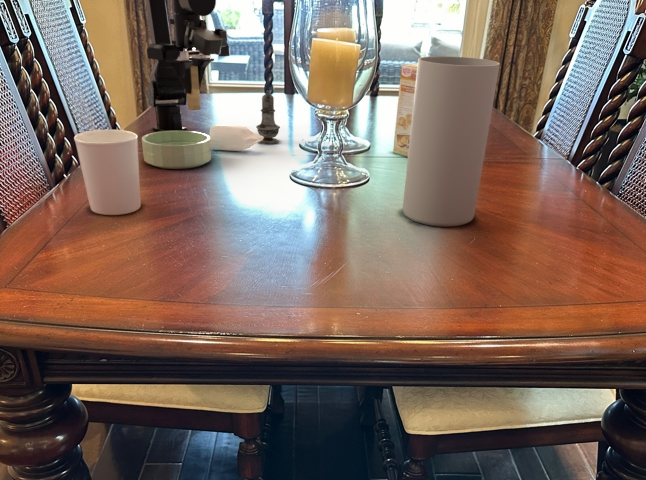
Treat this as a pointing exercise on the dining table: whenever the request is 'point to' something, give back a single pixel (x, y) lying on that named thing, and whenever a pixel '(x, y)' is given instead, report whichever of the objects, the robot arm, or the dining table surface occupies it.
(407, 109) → the coffeecake box
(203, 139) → the bowl
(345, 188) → the dining table surface
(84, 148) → the white cup
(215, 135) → the white milk carton
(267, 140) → the salt shaker
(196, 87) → the stick
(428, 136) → the cylinder vase
